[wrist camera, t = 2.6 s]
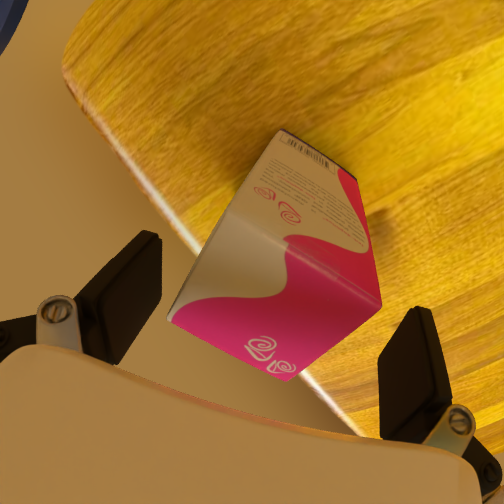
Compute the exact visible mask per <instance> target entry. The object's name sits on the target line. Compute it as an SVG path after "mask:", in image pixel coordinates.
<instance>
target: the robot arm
mask: <svg viewBox="0 0 504 504" xmlns="http://www.w3.org/2000/svg"><path fill="white" fill-rule="evenodd" d="M161 296H162V239H160V238H159V236H158V234H157V233H153V232H150V231H146V230H142V231H141V232H140V233H139V234H138V235H137V236H136V237H135V238H134V239H132V240H131V242H129V243H128V244H127V245H126V246H125V247H124V248H123V249H122V250H121V251H120V252H119V253H118V254H117V255H116V256H115V257H114V258H112V259H111V260H110V261H109V262H108V263H107V264H106V265H105V266H104V267H103V268H102V269H101V270H100V271H99V272H98V273H97V274H96V275H95V276H94V277H93V278H92V280H90V281H89V283H87V285H86V286H85V287H84V288H83V289H82V290H81V291H80V292H79V293H78V294H77V295H76V296H75V297H74V298H73V299H72V298H70V297H68V296H64V295H56V296H52V297H49V298H47V299H46V300H44V301H43V302H42V303H41V304H40V306H39V307H38V310H37V314H36V315H31V316H26V317H21V318H16V319H12V320H6V321H1V322H0V504H504V485H503V486H501V485H500V483H501V481H502V469H501V466H500V464H499V462H498V461H497V460H496V459H495V458H494V457H493V456H492V455H491V454H490V452H489V451H488V450H487V449H486V448H485V447H484V446H483V445H482V444H481V443H480V442H479V441H478V440H477V439H476V438H475V437H474V436H473V435H474V432H475V429H476V422H475V418H474V416H473V414H472V413H471V411H470V410H469V409H468V408H466V407H465V406H463V405H460V404H453V405H452V400H451V399H452V398H453V397H452V392H451V387H450V382H449V378H448V373H447V369H446V364H445V360H444V356H443V352H442V348H441V344H440V340H439V337H438V333H437V330H436V326H435V323H434V319H433V316H432V312H431V310H430V309H428V308H424V307H420V306H415V307H414V308H413V309H412V308H411V309H409V311H408V312H407V314H406V315H405V317H404V319H403V320H402V322H401V323H400V325H399V326H398V328H397V330H396V331H395V333H394V334H393V336H392V337H391V339H390V340H389V342H388V343H387V345H386V346H385V348H384V349H383V351H382V352H381V354H380V355H379V358H378V363H377V365H378V383H379V415H380V437H381V438H383V440H381V439H374V438H367V437H359V436H352V435H346V434H340V433H334V432H329V431H323V430H318V429H313V428H308V427H303V426H298V425H294V424H289V423H285V422H281V421H276V420H272V419H268V418H264V417H260V416H257V415H253V414H249V413H245V412H242V411H238V410H235V409H231V408H228V407H225V406H222V405H218V404H215V403H212V402H208V401H206V400H202V399H199V398H196V397H194V396H190V395H188V394H185V393H182V392H179V391H176V390H174V389H171V388H168V387H165V386H163V385H160V384H157V383H155V382H152V381H150V380H147V379H145V378H142V377H140V376H137V375H135V374H132V373H130V372H127V371H125V370H122V369H120V368H117V367H115V366H113V365H114V364H115V365H118V364H119V363H120V361H121V360H122V358H123V356H124V355H125V353H126V352H127V350H128V349H129V347H130V346H131V344H132V343H133V341H134V340H135V338H136V336H137V335H138V334H139V332H140V331H141V329H142V327H143V326H144V325H145V323H146V322H147V320H148V319H149V317H150V315H151V314H152V312H153V311H154V310H155V308H156V307H157V305H158V304H159V302H160V300H161Z"/></svg>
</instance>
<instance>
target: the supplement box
mask: <svg viewBox="0 0 504 504" xmlns="http://www.w3.org/2000/svg"><path fill="white" fill-rule="evenodd" d="M381 308H382V300H381V294H380V288H379V282H378V277H377V272H376V266H375V260H374V256H373V250H372V245H371V240H370V235H369V231H368V226H367V221H366V217H365V212H364V208H363V204H362V200H361V196H360V191H359V187H358V183H357V179H356V178H355V177H354V176H353V175H351V174H350V173H349V172H347V171H346V170H345V169H343V168H342V167H341V166H339V165H338V164H336V163H335V162H334V161H332V160H331V159H329V158H328V157H326V156H325V155H324V154H322V153H321V152H319V151H318V150H316V149H315V148H313V147H312V146H310V145H309V144H307V143H305V142H304V141H302V140H301V139H299V138H298V137H296V136H294V135H293V134H291V133H289V132H288V131H286V130H285V129H283V128H281V129H280V130H279V131H278V132H277V133H276V135H275V136H274V137H273V139H272V140H271V141H270V143H269V144H268V146H267V147H266V149H265V150H264V152H263V153H262V155H261V156H260V158H259V159H258V161H257V162H256V164H255V165H254V167H253V168H252V170H251V171H250V173H249V174H248V176H247V177H246V179H245V180H244V182H243V183H242V185H241V186H240V188H239V189H238V191H237V193H236V194H235V196H234V197H233V199H232V200H231V202H230V203H229V205H228V206H227V208H226V209H225V211H224V212H223V214H222V216H221V217H220V219H219V221H218V222H217V224H216V226H215V227H214V229H213V231H212V232H211V234H210V236H209V238H208V239H207V241H206V243H205V245H204V247H203V248H202V250H201V252H200V254H199V256H198V257H197V259H196V261H195V263H194V265H193V267H192V268H191V270H190V272H189V274H188V276H187V278H186V280H185V282H184V283H183V286H182V288H181V289H180V291H179V293H178V295H177V297H176V299H175V301H174V303H173V305H172V307H171V308H170V311H169V312H168V315H167V317H166V319H167V320H168V321H169V322H171V323H173V324H175V325H177V326H179V327H180V328H182V329H184V330H186V331H187V332H189V333H191V334H193V335H195V336H196V337H199V338H200V339H202V340H204V341H206V342H208V343H210V344H211V345H213V346H215V347H217V348H219V349H221V350H223V351H225V352H226V353H228V354H230V355H232V356H234V357H236V358H238V359H240V360H242V361H244V362H246V363H248V364H250V365H252V366H254V367H256V368H258V369H260V370H262V371H264V372H266V373H268V374H270V375H272V376H274V377H276V378H279V379H281V380H283V381H288V380H289V379H291V378H293V377H294V376H295V375H297V374H298V373H300V372H301V371H302V370H304V369H305V368H306V367H307V366H309V365H310V364H311V363H312V362H314V361H315V360H316V359H318V358H319V357H320V356H321V355H323V354H324V353H326V352H327V351H328V350H329V349H331V348H332V347H334V346H335V345H336V344H337V343H339V342H340V341H341V340H343V339H344V338H345V337H347V336H348V335H349V334H350V333H352V332H353V331H354V330H356V329H357V328H358V327H359V326H361V325H362V324H363V323H364V322H366V321H367V320H368V319H369V318H371V317H372V316H373V315H374V314H375V313H377V312H378V311H379V310H380V309H381Z"/></svg>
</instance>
